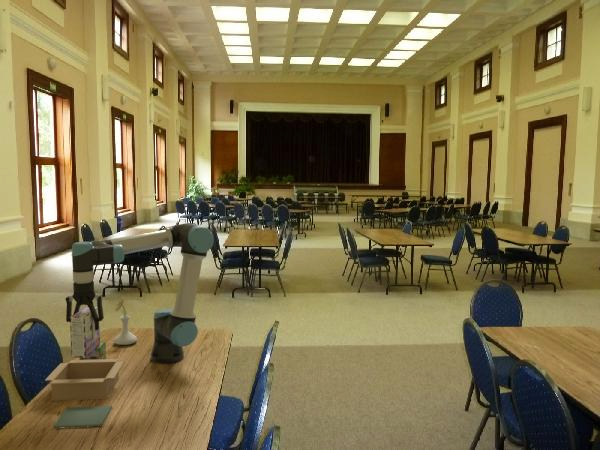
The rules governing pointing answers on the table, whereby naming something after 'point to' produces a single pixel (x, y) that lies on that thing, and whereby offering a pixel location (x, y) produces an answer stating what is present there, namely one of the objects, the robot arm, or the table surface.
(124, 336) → the flower in vase
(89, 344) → the candy box
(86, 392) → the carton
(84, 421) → the mat
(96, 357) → the chalk box
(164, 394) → the table surface
